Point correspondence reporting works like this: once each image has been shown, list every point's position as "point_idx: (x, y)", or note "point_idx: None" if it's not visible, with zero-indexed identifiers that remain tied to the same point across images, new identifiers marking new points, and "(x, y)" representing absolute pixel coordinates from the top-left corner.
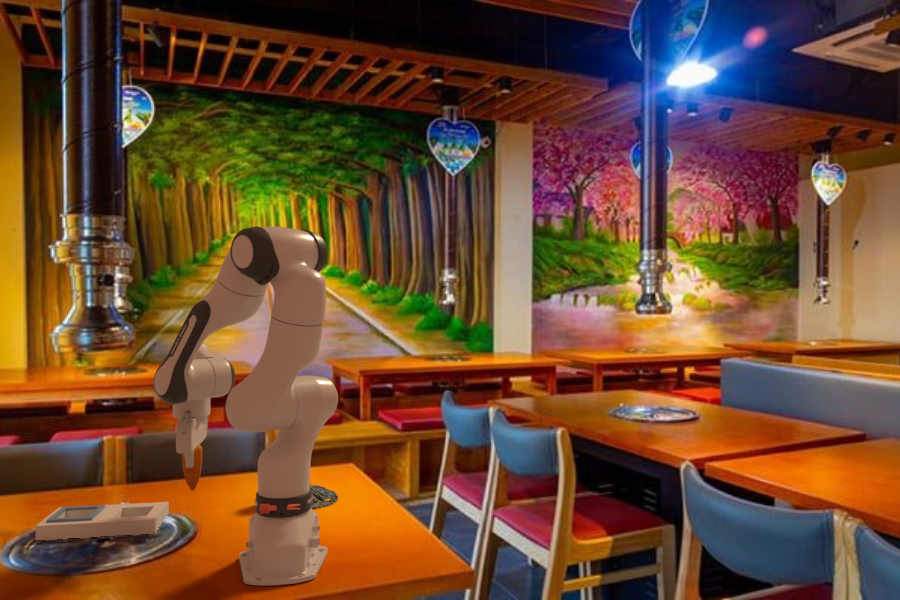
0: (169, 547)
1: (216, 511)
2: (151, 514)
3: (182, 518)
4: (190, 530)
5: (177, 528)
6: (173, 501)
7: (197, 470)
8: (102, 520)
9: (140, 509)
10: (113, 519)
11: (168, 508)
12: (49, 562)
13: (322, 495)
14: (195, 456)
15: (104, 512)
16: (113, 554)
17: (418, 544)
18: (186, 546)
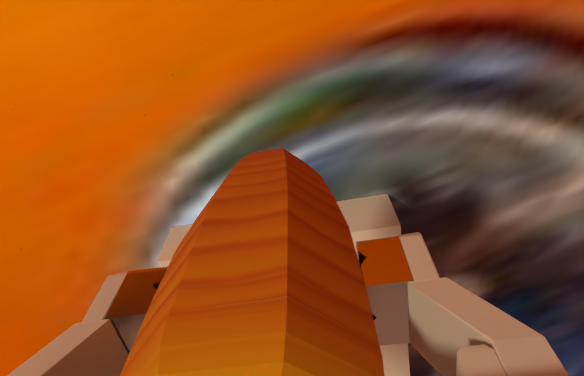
0: (550, 84)
1: (79, 48)
2: None
3: (199, 164)
4: (351, 74)
5: (323, 138)
6: (4, 270)
7: (310, 190)
8: (389, 371)
9: None
10: (381, 348)
11: (167, 243)
12: (576, 356)
13: None
14: (357, 298)
15: None
16: (565, 240)
17: None
18: (558, 15)
